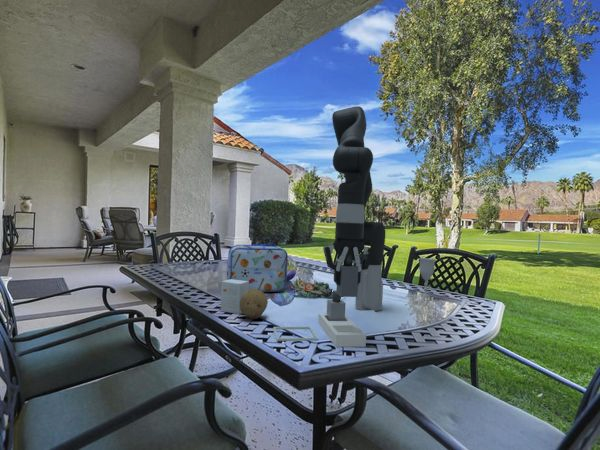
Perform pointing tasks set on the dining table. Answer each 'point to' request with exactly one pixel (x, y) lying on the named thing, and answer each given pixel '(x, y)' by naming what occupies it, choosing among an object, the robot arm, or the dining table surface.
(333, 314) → the seated twin plug
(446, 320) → the dining table surface
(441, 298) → the dining table surface
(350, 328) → the cream socket block
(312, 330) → the tray
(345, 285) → the plug
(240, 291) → the small box
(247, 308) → the natural sponge
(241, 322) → the dining table surface
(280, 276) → the lunch box
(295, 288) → the plated dish
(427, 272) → the chalice
